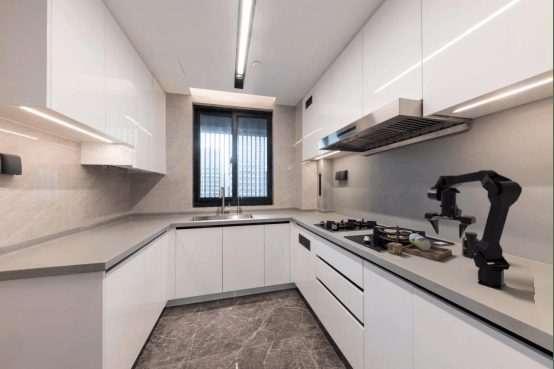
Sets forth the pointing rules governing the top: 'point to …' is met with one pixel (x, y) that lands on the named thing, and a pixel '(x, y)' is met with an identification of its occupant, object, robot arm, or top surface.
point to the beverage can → (420, 241)
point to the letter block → (395, 248)
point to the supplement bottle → (468, 243)
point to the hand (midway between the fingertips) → (448, 236)
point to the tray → (428, 252)
